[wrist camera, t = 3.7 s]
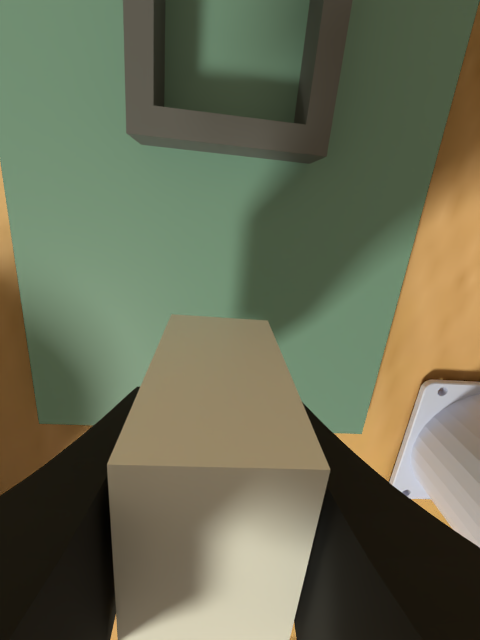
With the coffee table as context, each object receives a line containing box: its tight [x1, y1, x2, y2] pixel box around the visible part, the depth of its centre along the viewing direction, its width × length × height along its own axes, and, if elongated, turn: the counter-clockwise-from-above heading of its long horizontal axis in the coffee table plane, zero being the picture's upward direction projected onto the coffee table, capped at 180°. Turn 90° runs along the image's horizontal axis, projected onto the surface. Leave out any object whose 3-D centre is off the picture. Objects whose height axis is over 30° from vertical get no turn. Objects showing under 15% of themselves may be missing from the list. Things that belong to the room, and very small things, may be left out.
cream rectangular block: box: [107, 314, 330, 640], centre depth 8 cm, size 3×5×6 cm, turn 175°
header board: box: [0, 0, 480, 434], centre depth 12 cm, size 16×22×3 cm
